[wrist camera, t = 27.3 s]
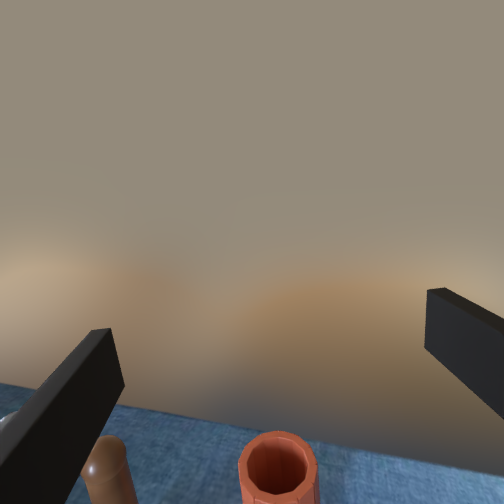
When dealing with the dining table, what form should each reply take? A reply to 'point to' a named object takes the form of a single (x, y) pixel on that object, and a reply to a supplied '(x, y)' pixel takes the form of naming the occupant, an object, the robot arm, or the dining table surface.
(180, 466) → the dining table surface
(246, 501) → the orange hollow tube
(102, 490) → the ring stand
